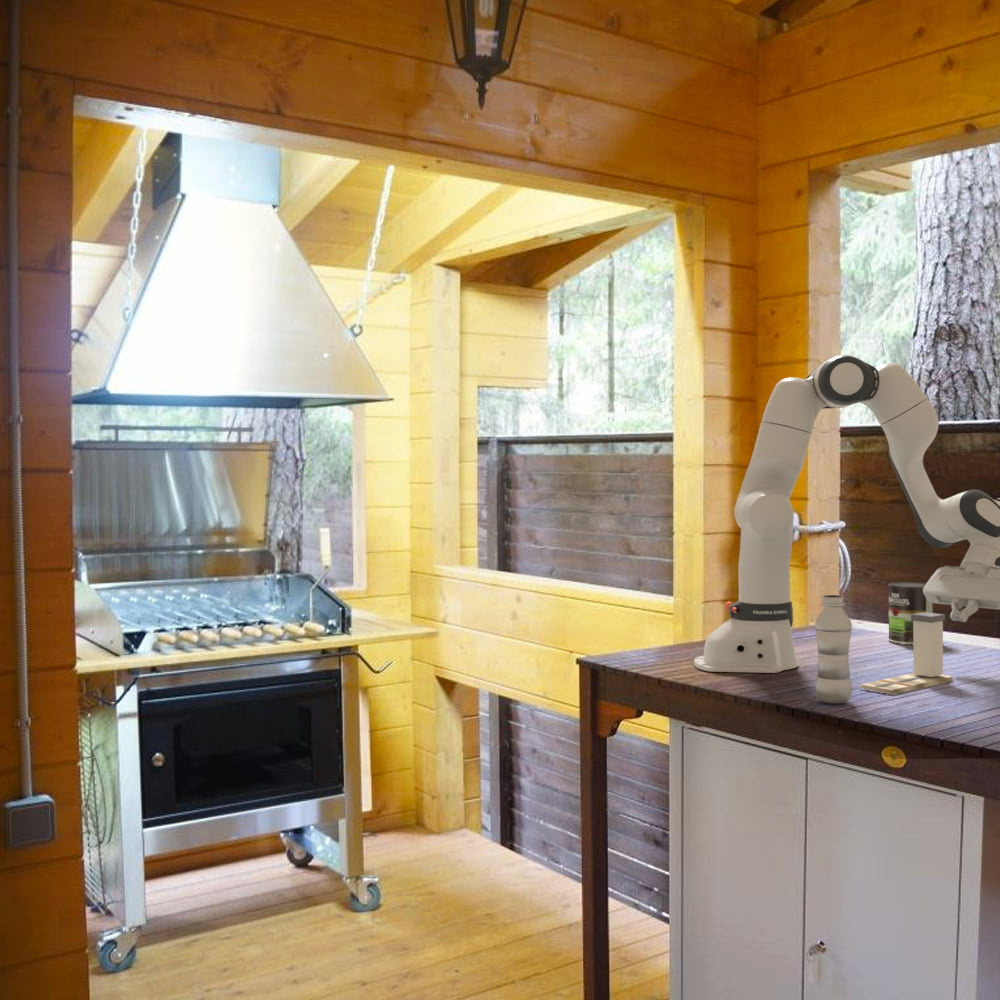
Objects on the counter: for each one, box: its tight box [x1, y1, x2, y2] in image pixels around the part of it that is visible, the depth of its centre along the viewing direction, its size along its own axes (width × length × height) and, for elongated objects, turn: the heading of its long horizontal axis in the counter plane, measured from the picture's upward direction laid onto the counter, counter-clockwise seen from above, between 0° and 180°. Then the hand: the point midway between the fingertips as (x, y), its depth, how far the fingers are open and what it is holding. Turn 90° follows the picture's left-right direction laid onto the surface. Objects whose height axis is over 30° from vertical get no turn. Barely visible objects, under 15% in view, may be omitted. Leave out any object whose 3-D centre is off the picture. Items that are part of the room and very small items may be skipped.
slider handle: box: [911, 612, 946, 677], centre depth 226 cm, size 5×5×12 cm
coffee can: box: [887, 581, 933, 644], centre depth 272 cm, size 10×10×14 cm
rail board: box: [860, 672, 954, 695], centre depth 222 cm, size 20×7×1 cm, turn 125°
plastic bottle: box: [814, 594, 853, 704], centre depth 207 cm, size 6×7×20 cm
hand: (957, 619), depth 231 cm, fingers closed
